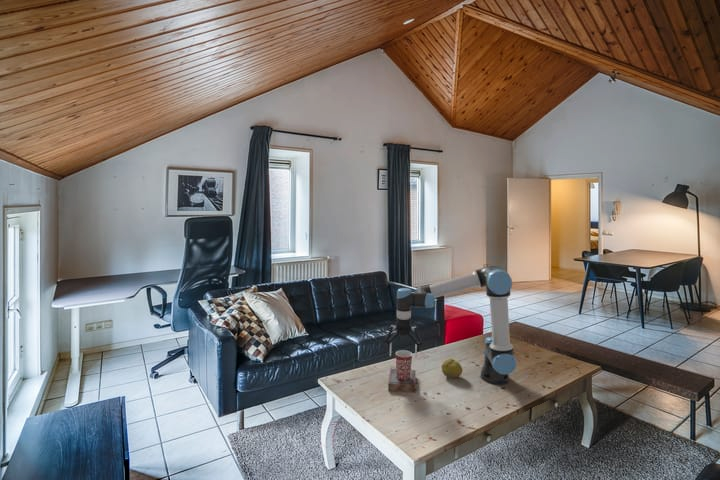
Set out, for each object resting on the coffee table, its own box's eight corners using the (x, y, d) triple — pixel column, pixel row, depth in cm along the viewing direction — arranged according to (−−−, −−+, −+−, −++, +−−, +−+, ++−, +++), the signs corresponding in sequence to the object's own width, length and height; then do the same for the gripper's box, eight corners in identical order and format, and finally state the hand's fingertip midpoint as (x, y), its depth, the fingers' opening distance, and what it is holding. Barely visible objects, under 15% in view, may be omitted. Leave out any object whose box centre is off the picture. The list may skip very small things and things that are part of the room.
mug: (413, 381, 203) (414, 356, 201) (397, 382, 201) (397, 357, 200) (407, 370, 215) (408, 347, 214) (391, 371, 214) (392, 347, 212)
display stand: (415, 377, 217) (415, 369, 216) (415, 392, 199) (415, 384, 198) (390, 375, 219) (390, 367, 218) (388, 390, 201) (388, 382, 200)
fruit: (445, 382, 210) (446, 365, 209) (438, 373, 222) (438, 356, 220) (465, 381, 212) (465, 364, 211) (456, 372, 223) (457, 355, 222)
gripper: (427, 316, 207) (426, 354, 209) (380, 314, 210) (380, 351, 212) (427, 320, 199) (426, 360, 202) (379, 318, 203) (379, 357, 205)
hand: (403, 356), depth 207 cm, fingers open, 13 cm apart
